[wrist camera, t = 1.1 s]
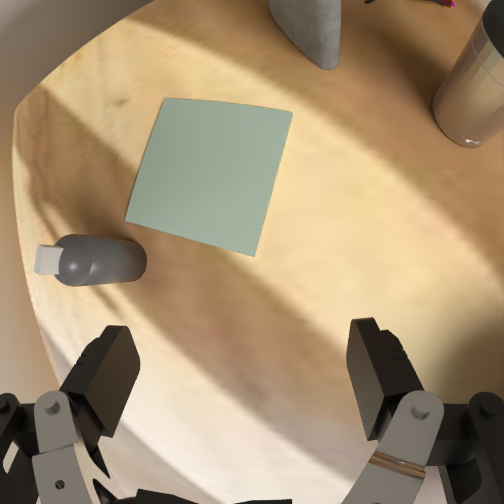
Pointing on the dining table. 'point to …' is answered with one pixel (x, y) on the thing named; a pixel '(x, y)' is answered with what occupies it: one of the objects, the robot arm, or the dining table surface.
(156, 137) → the mat
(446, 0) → the glasses
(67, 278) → the grey bottle
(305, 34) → the hip flask
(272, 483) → the dining table surface
